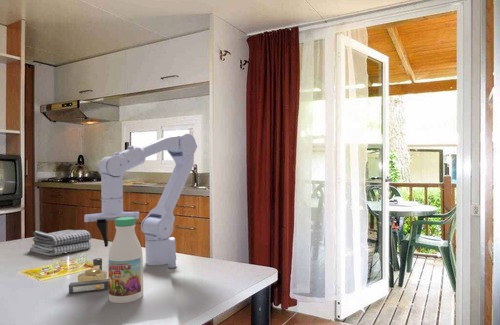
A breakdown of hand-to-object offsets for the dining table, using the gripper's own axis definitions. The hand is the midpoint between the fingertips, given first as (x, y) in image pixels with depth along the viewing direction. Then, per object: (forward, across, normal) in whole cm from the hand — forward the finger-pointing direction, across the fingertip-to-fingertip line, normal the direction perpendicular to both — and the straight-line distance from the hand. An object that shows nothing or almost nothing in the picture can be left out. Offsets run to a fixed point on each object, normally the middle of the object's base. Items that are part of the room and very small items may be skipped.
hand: (112, 245), depth 99 cm
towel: (+10, -22, +43) cm, 49 cm away
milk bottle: (+10, +4, -20) cm, 22 cm away
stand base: (+9, -4, -6) cm, 12 cm away
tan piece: (+8, -4, -3) cm, 10 cm away
